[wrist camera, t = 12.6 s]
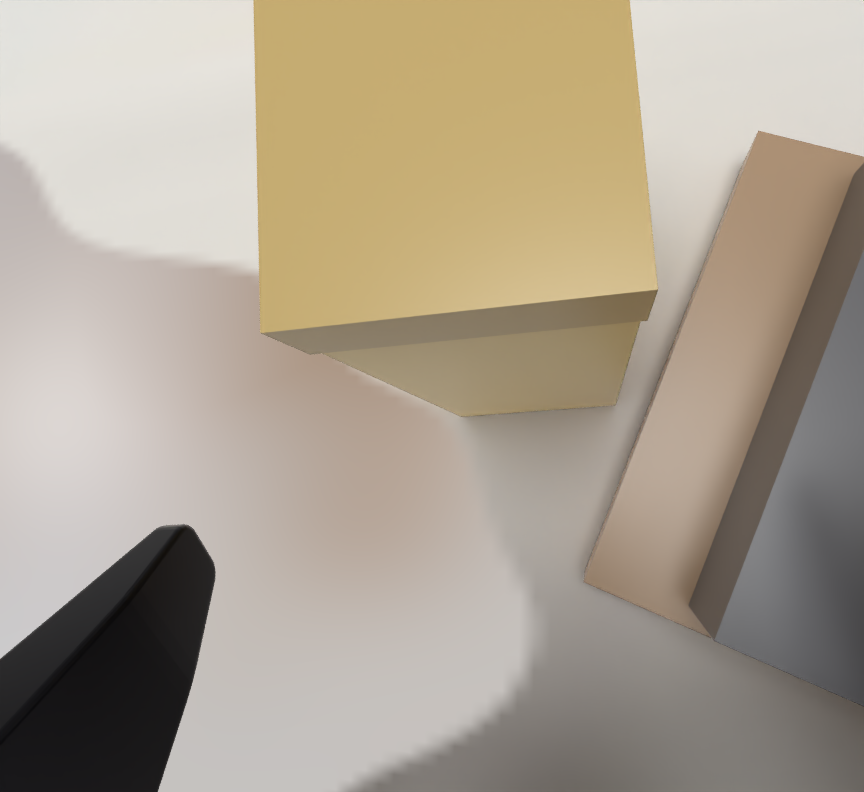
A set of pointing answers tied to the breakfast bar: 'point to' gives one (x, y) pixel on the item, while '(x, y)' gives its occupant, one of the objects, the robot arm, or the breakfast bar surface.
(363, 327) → the plug
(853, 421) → the panel
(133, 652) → the robot arm
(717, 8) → the breakfast bar surface
